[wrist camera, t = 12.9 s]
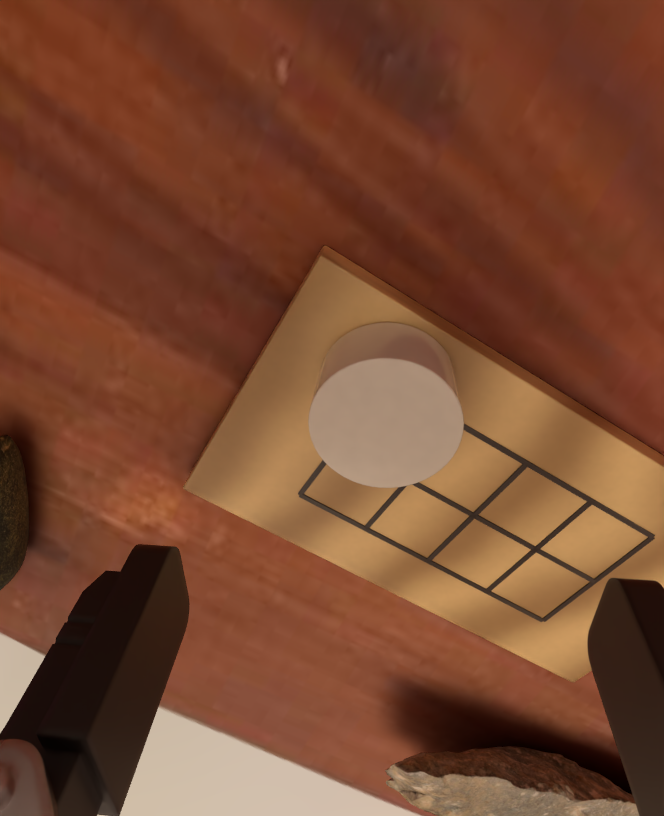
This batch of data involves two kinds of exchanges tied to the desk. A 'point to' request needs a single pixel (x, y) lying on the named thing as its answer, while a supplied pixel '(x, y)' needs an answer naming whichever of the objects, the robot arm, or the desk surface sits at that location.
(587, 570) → the game board
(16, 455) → the decorative stone
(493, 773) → the stone tool
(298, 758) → the desk surface
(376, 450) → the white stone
